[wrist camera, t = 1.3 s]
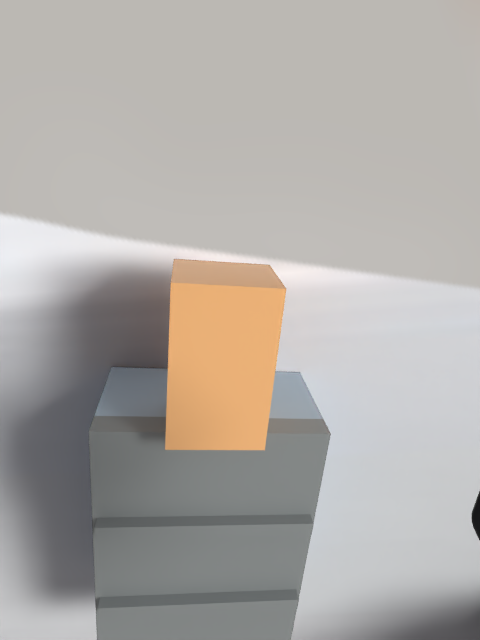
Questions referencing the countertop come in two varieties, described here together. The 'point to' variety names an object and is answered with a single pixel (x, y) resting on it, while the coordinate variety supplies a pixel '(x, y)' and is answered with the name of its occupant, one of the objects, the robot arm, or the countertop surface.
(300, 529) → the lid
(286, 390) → the tub
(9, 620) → the countertop surface
